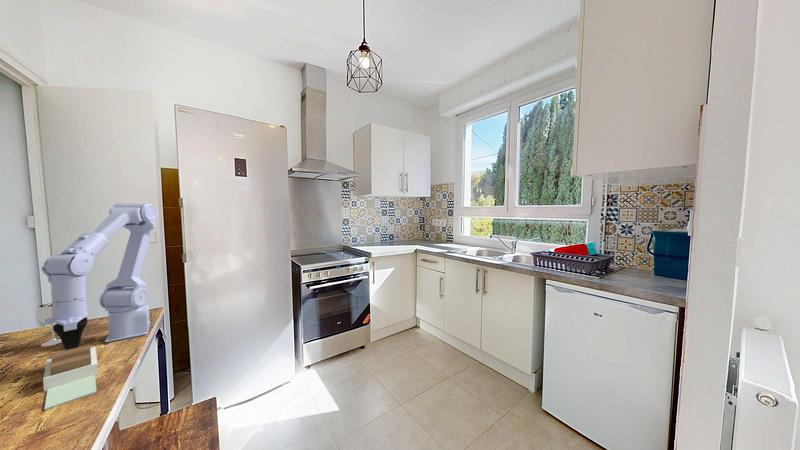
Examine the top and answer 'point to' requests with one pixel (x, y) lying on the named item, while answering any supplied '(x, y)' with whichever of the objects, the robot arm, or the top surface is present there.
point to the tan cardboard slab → (70, 359)
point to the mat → (70, 392)
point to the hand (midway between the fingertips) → (72, 348)
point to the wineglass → (41, 315)
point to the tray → (70, 373)
